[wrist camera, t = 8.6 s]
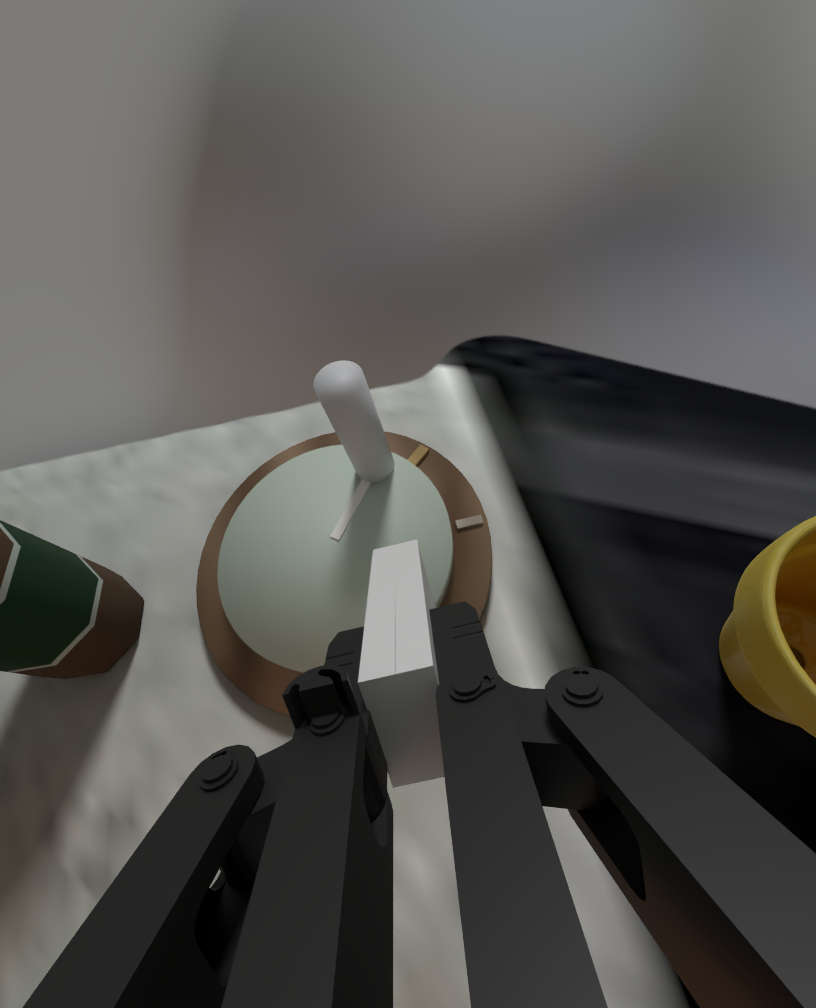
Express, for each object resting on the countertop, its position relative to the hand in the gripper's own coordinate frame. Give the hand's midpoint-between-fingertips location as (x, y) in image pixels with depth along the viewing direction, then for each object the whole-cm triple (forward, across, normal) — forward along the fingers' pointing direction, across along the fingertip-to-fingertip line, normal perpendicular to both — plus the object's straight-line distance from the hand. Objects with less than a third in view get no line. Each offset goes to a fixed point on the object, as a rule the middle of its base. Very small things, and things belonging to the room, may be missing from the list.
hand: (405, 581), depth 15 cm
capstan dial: (+16, -6, -5) cm, 18 cm away
